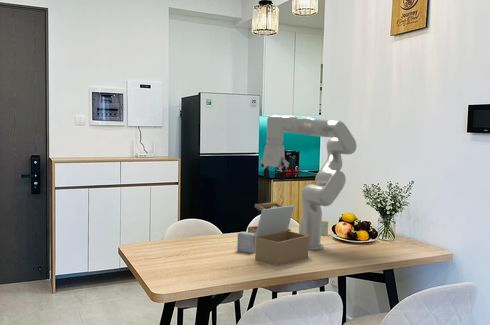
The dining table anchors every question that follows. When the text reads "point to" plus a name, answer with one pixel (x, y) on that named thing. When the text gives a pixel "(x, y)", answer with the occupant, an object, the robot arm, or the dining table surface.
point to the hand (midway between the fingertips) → (273, 179)
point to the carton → (281, 247)
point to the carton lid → (273, 218)
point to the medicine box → (246, 242)
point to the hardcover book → (254, 229)
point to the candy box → (323, 227)
